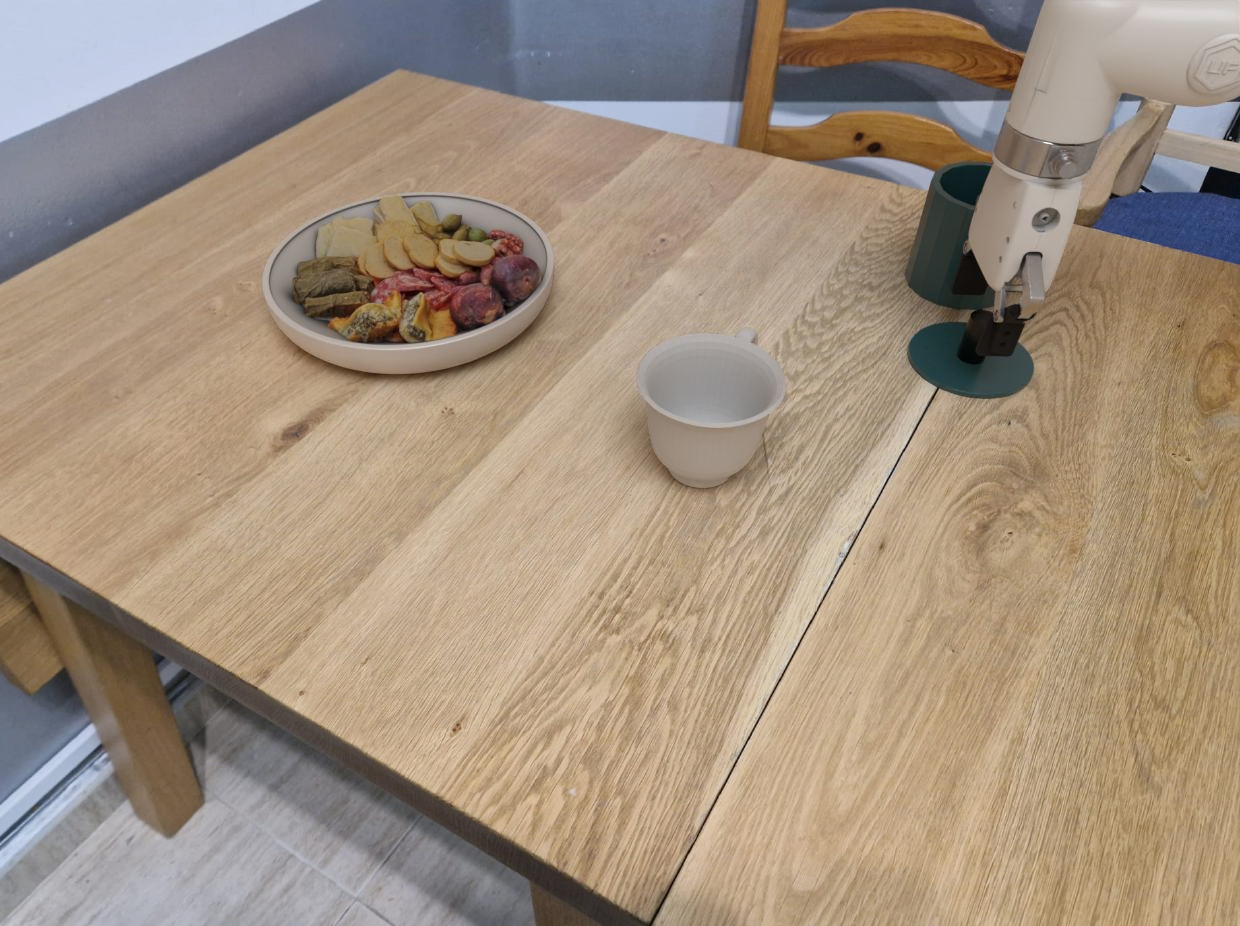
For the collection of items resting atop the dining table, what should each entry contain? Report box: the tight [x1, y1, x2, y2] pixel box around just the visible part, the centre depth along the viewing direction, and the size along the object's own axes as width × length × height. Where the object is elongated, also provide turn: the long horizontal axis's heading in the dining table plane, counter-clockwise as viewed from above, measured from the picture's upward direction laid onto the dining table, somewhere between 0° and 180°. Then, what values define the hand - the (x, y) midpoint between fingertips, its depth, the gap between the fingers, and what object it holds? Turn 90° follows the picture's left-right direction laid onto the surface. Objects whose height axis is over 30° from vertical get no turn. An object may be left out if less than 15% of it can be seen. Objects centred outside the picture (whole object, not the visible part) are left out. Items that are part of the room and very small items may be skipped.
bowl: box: [261, 191, 555, 375], centre depth 98 cm, size 30×30×8 cm
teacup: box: [635, 326, 787, 489], centre depth 80 cm, size 12×15×10 cm
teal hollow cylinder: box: [904, 160, 1015, 311], centre depth 97 cm, size 11×11×12 cm
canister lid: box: [907, 309, 1035, 399], centre depth 90 cm, size 12×12×6 cm
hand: (979, 322), depth 88 cm, fingers open, 9 cm apart
